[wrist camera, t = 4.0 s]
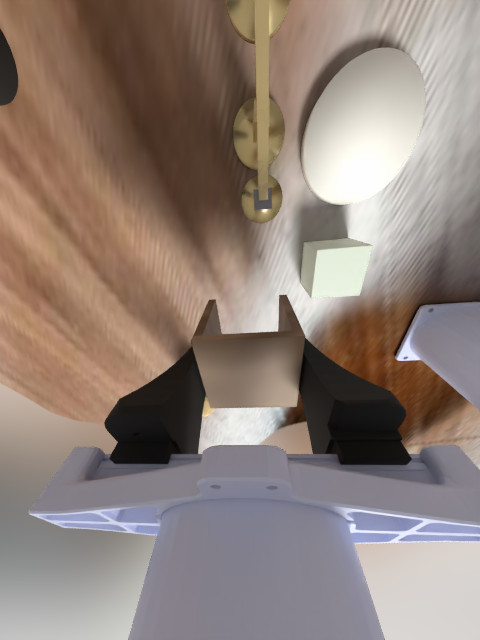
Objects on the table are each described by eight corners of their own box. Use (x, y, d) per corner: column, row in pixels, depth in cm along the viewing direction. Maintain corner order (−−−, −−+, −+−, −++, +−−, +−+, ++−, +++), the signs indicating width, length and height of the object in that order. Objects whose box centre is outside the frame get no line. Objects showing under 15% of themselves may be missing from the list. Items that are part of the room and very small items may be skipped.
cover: (286, 294, 13) (305, 336, 9) (283, 353, 16) (296, 406, 12) (209, 299, 14) (190, 341, 9) (220, 356, 17) (210, 408, 12)
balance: (285, 3, 10) (320, -188, 5) (280, 219, 16) (295, 223, 11) (223, 16, 10) (202, -154, 6) (240, 223, 16) (237, 229, 11)
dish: (434, 49, 11) (450, 35, 10) (390, 199, 15) (399, 198, 14) (306, 70, 11) (310, 60, 11) (297, 209, 15) (300, 209, 15)
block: (347, 237, 17) (373, 245, 13) (339, 279, 19) (359, 295, 15) (303, 242, 17) (317, 250, 13) (300, 282, 19) (311, 298, 16)
